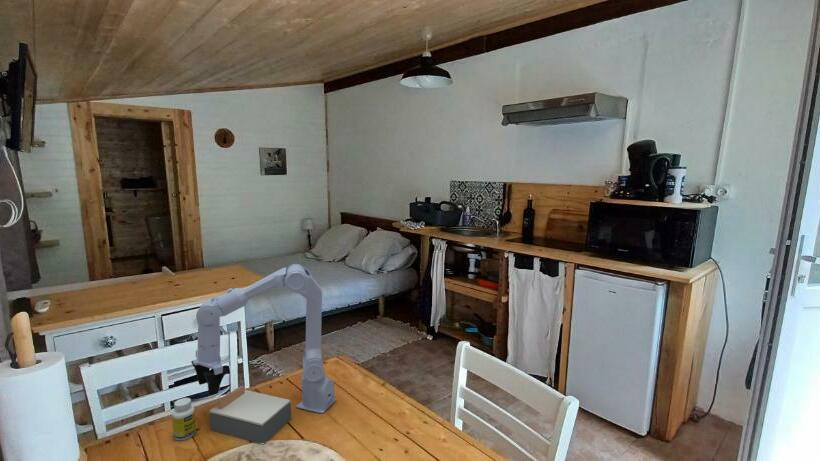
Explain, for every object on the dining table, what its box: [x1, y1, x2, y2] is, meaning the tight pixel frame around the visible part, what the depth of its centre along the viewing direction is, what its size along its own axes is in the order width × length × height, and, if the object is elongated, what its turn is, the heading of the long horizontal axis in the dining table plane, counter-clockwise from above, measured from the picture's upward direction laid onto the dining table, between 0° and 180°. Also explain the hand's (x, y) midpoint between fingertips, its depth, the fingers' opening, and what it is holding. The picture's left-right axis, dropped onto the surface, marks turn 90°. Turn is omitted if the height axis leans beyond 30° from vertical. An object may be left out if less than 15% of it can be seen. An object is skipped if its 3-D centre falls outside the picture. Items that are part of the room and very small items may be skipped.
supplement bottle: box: [171, 397, 197, 441], centre depth 110 cm, size 5×5×10 cm
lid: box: [209, 385, 291, 426], centre depth 114 cm, size 18×12×3 cm, turn 70°
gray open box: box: [209, 402, 292, 444], centre depth 115 cm, size 18×12×5 cm, turn 70°
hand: (208, 388), depth 116 cm, fingers open, 7 cm apart
